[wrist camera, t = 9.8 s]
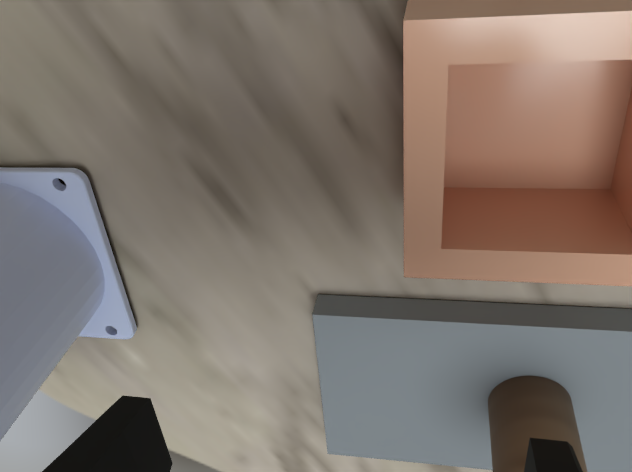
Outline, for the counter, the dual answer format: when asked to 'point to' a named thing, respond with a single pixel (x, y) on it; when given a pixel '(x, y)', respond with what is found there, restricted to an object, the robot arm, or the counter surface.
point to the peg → (529, 420)
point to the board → (466, 375)
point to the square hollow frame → (518, 140)
